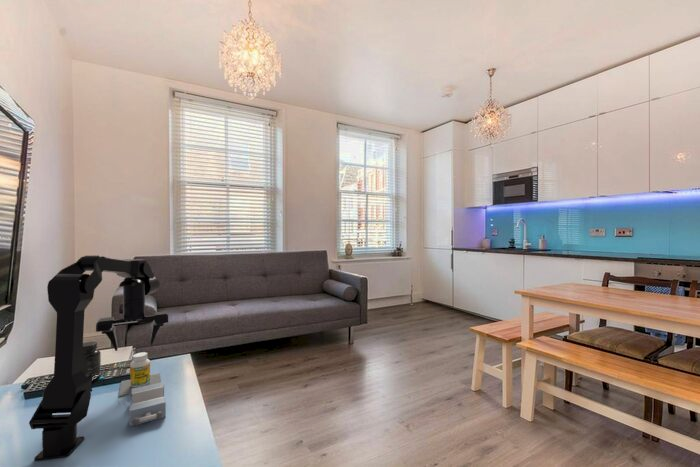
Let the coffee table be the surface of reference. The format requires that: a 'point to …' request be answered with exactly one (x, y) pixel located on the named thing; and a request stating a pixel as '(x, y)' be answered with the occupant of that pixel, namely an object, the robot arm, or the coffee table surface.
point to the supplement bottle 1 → (91, 359)
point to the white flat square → (127, 388)
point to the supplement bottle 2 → (140, 370)
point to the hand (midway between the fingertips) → (134, 347)
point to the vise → (147, 403)
